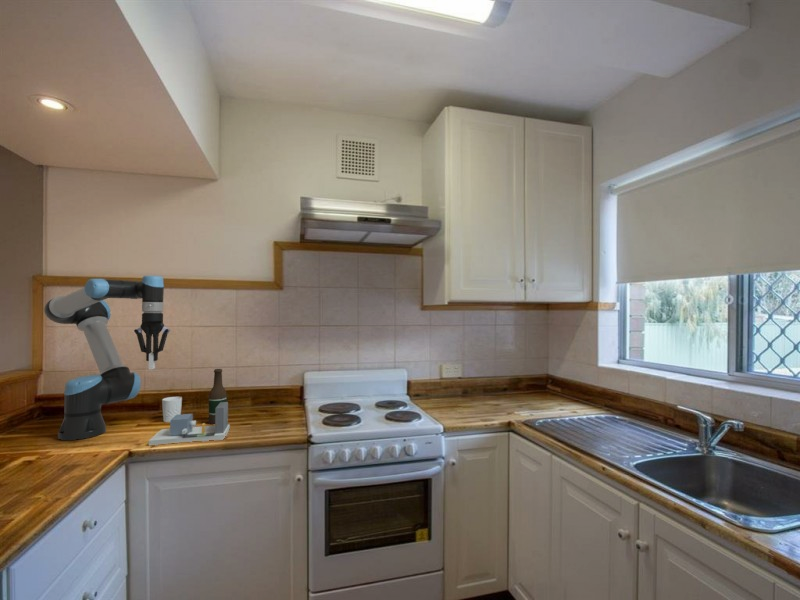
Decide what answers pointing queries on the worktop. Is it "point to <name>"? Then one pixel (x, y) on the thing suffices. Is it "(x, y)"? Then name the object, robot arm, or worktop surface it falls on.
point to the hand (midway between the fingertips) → (151, 368)
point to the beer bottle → (216, 395)
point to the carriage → (181, 424)
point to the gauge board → (198, 430)
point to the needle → (203, 428)
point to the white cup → (171, 407)
